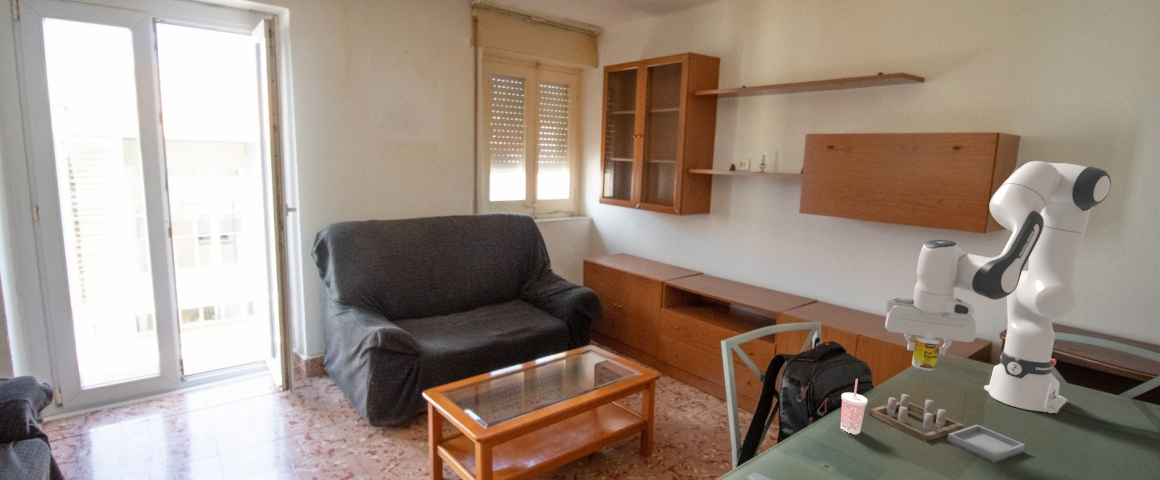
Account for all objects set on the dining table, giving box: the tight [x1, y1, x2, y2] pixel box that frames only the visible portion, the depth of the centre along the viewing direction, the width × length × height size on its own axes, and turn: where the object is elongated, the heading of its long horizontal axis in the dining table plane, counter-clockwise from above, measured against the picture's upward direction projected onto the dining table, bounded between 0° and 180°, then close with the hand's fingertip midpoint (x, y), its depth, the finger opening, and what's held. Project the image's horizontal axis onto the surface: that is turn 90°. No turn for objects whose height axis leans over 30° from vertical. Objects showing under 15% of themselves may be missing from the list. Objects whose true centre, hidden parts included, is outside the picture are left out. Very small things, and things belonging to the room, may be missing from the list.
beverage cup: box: [840, 378, 869, 435], centre depth 145 cm, size 6×6×14 cm
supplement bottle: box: [911, 332, 941, 371], centre depth 150 cm, size 6×6×10 cm
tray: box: [946, 424, 1026, 464], centre depth 141 cm, size 13×11×2 cm
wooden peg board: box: [868, 393, 964, 442], centre depth 152 cm, size 16×16×5 cm
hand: (925, 352), depth 150 cm, fingers closed on supplement bottle, 5 cm apart
